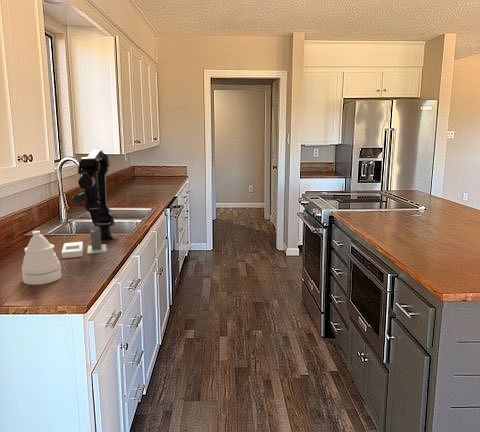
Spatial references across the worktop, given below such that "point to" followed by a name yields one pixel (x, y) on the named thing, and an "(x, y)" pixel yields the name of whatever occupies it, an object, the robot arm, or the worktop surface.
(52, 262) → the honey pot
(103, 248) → the green pad
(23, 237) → the worktop surface
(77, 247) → the cream window plate
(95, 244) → the grey rectangular block
